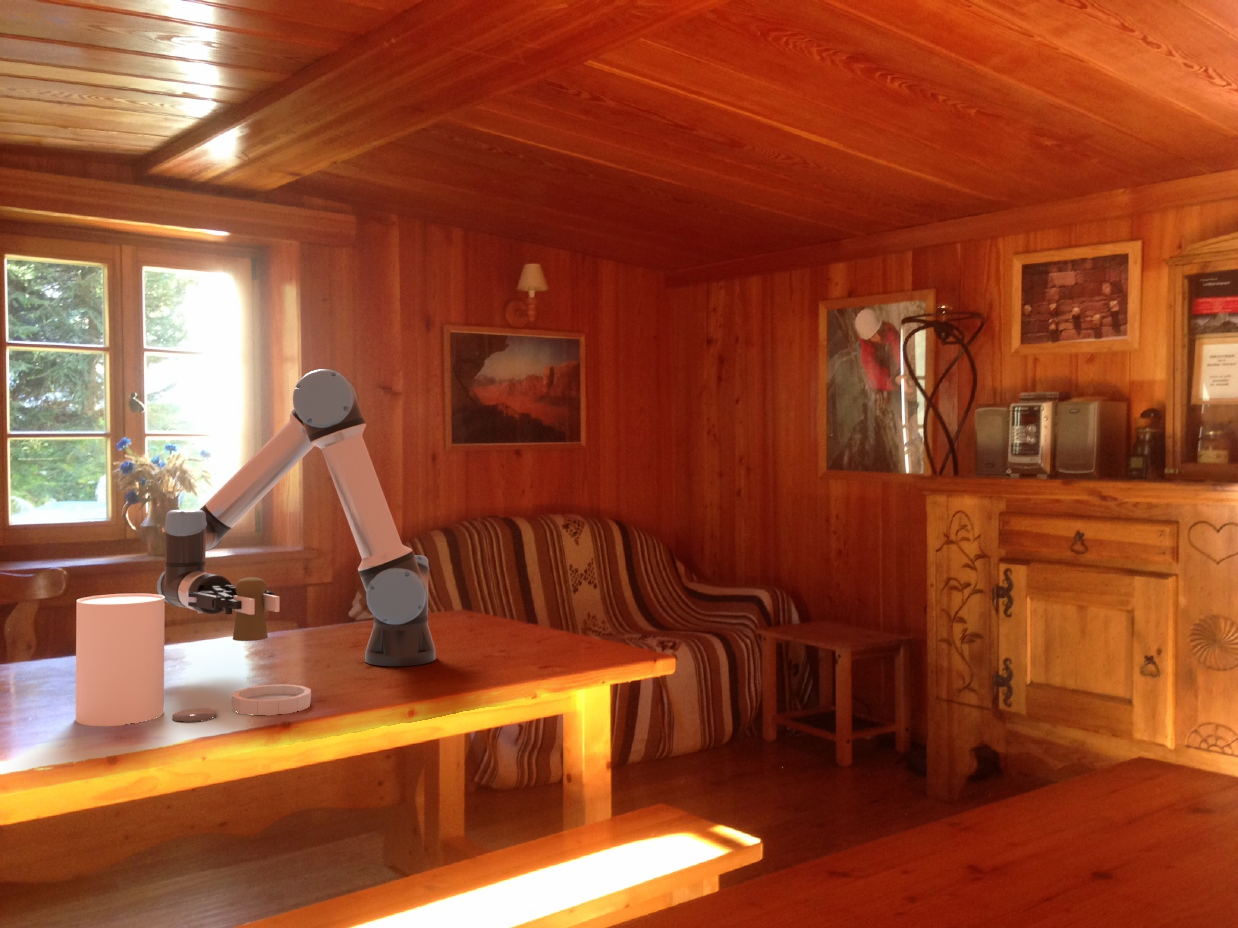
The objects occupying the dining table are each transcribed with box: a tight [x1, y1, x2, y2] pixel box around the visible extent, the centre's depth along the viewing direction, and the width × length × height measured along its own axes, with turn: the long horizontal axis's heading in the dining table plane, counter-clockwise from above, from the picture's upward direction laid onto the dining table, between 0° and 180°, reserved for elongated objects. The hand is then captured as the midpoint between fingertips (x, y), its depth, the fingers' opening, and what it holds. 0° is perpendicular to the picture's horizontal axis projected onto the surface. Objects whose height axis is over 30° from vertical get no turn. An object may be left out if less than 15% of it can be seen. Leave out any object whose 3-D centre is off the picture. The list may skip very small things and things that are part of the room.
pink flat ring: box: [231, 683, 312, 716], centre depth 185 cm, size 13×13×2 cm
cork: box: [232, 577, 269, 642], centre depth 189 cm, size 6×6×11 cm
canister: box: [75, 593, 166, 727], centre depth 177 cm, size 14×14×20 cm
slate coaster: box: [171, 708, 218, 723], centre depth 177 cm, size 7×7×1 cm
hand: (265, 605), depth 186 cm, fingers closed on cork, 4 cm apart
